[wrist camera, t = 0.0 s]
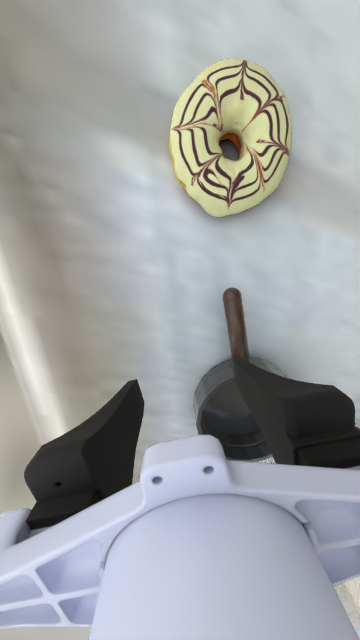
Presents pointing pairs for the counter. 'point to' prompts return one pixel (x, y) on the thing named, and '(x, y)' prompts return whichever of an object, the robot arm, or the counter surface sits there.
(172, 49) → the counter surface
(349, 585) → the coffeecake box
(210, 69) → the decorated donut
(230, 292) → the pan handle
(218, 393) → the pan
